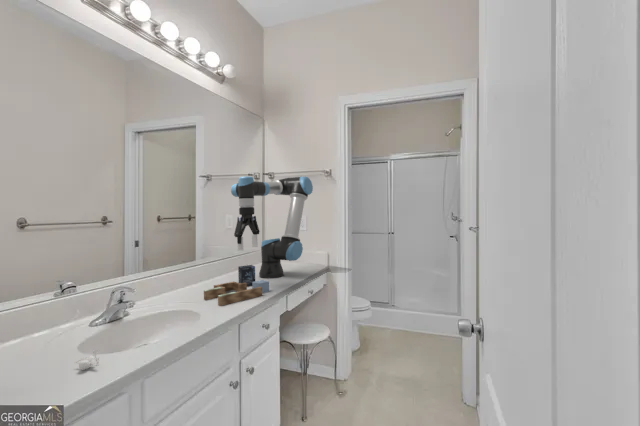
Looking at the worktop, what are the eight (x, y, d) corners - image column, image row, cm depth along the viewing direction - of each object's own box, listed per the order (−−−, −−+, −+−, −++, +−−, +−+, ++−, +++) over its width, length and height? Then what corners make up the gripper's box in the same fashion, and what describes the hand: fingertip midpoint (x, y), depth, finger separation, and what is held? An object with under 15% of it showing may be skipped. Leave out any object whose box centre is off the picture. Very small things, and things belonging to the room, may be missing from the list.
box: (241, 287, 169) (241, 267, 169) (238, 285, 174) (237, 266, 174) (255, 285, 173) (255, 265, 173) (251, 283, 178) (251, 264, 178)
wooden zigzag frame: (238, 288, 167) (237, 280, 167) (262, 295, 151) (262, 286, 151) (197, 296, 151) (197, 287, 151) (219, 306, 136) (219, 296, 136)
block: (262, 289, 164) (262, 279, 164) (269, 291, 159) (269, 281, 159) (252, 291, 159) (252, 281, 159) (259, 293, 155) (259, 283, 155)
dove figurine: (65, 369, 81) (71, 349, 83) (82, 367, 85) (87, 348, 87) (91, 372, 79) (96, 352, 81) (106, 370, 84) (111, 350, 85)
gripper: (252, 206, 174) (254, 245, 174) (225, 207, 150) (227, 251, 150) (265, 206, 171) (266, 245, 172) (239, 207, 148) (240, 252, 148)
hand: (248, 248), depth 161 cm, fingers open, 13 cm apart
